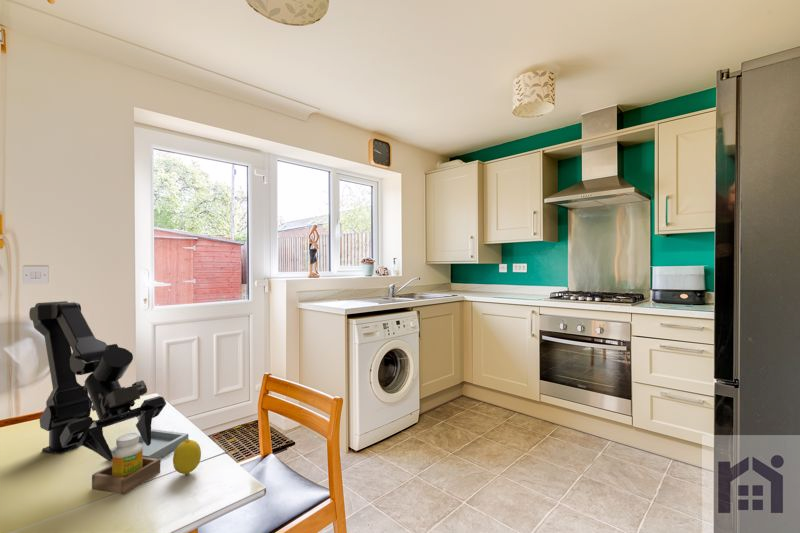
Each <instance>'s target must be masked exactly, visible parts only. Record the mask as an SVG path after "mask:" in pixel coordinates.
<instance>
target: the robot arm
mask: <svg viewBox="0 0 800 533" xmlns="http://www.w3.org/2000/svg"><path fill="white" fill-rule="evenodd" d="M28 314H29V316H28V317H29V319H30V321H32V323H33V327H34V329H35V330H36V331H37V332H38V333H40V334H41V335H42V336H44V342H45V346H46V347H45V348H46V354H47V361H48V367H49V372H50V373H49V374H50V380H51V383H52V384H51V385H52V390H51V393H50V394H49V396H48V397H47V399H46V402H45V403H46V404H45V405H46V407H45V408H44V410H43V412H42V414H41V416H40V418H39V425H40V429H42V430H44V431H45V432H46V431H47V432H48V434H49V435H48V438H49V439H48V446H45V447H44V448H42V449H41V452H46V453H53V454H58V455H61V454H64V453H66V452H68V451H70V450H73V449H75V448H78V447H84V448H87V449H89V450H91V451H92V452H95V453H96V454H97V455H99V456H101V457H102V458H103V459H105V460H107V461H108V462H112V459H113V456H112V453H111V450H110V449H111V448H110V446H109V444H108V443H107V439H106V438H105V436H104V431H103V428H106V427H110V426H113V425H115V424H116V425H117V424H119V423H122V422H125V421H128V420H131V419H135V418H136V419H137V422H136V424H135V427H136V428H137V430H138V432H139V433H138V434H139V435H141V437H142V439H143V441H144V442H145V444H146V445H147V446H149V445H150V444H151V429H152V423H153V422H152V421H153V419H154V418H156V417H158V416H159V415H160V414H161V412H162V411H163V409H164V408H165V407H166V405H167V402H166V400H165V398H164V397H163V396H161V395H157V396H154V397H152V398H148V399H145V400H144V401H143V402H142V403H141V405H140V407H139V406H138V407H136V408H132V407H134V406H135V405H136V402H135V401H137V400H141V397H142V396H144V395H146V394H147V393H148V388H147V384H146V383H145V381H144V380H138V381H135V382H134V383H132V384H131V385H130V386H127V387H125V386H123V387H122V386H121V384H120V382H119V380H120V379H122V378H123V376H124V374H125V373H126V371H127V370H128V368H129V366H130V365H131V363H132V361H133V359H134V355H133V352H131V351H130V350H129V349H127V348H123V347H121V346H119V345H118V344H117V343H112V344H107V343H106V342H105V341H103V340H101V339H98V338H97V337H95V335H94V332H93V330H92V329H91V327H90V326H89V324H88V322H87V319H86V318H85V316H84V314H83V313H82V306H81V304H80V303H78V302H74V301H73V302H68V301H67V300H64V301H48V302H37V303H35V305H34V306H33V307H30V308H29V312H28ZM88 374H89V375H88ZM83 375H88V376H87V377H86V379H85V380H84V385H81V384H80V383H79V382H78V380H77V376H83ZM91 412H95V413H96V415H97V418H98V419H97V420H95V419H93V417H91V416H90V415H91Z"/></svg>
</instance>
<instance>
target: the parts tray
mask: <svg viewBox="0 0 800 533" xmlns="http://www.w3.org/2000/svg"><path fill="white" fill-rule="evenodd" d="M187 439H189V433H187V432H186V433H185V432H178V431H170V430H164V429H163V430H161V429H155V428H154V429H153V428H151V444H150V445H149V446H147V445H146V444H145V442H144V441H143V439H142V437H141V435H140V434H139V441H138V442H140V443H141V444H142V446H143V457H149V458H156V459H160V460H161V458H163V457H165V456H167V455H169V454H170V453H172V452H175V450H176V448H177V447H178V445H179V444H181V443H182V442H184V441H185V440H187ZM116 447H117V445H116V446H114V447H113V448H110V450H111V453H113V450H114V449H115V448H116Z"/></svg>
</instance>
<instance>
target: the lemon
mask: <svg viewBox="0 0 800 533" xmlns="http://www.w3.org/2000/svg"><path fill="white" fill-rule="evenodd" d="M201 449H202V448H201V446H200V444H199V443H198V442H197V441H196V440H193V439H189V438H188V439H187V440H185V441H184V442H182V443H181V444H179V445H178V447H177V448H176V449H175V450H174V451H173V456H172V464H173V469H174V470H175V471H176V472H177V473H179V474H181V475H182V474H183V475H185V476H188V475H189V474H190V473H192V472H193V471H194V470H196V468H197V467H198V466H199V464H200V461H201V459H202V458H201V457H202V450H201Z"/></svg>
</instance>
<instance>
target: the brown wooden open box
mask: <svg viewBox="0 0 800 533" xmlns="http://www.w3.org/2000/svg"><path fill="white" fill-rule="evenodd" d="M160 473H161V458H160V459H156V458H149V457H143V456H142V468H141V469H139V470H137V471H136V472H134V473H132V474H131V475H129V476H127V477H125V478H123V477H117V476H112V464H110V465H108V466H106V467H104V468H103V469H100V470H99V471H97V472H95V473H93V474H92V475H91V490H94V491H101V492H106V493H111V494H116V495H122V496H125V495H126V494H128V493H131V491H133V490H134V489H136V488H138V487H139V486H141V485H142V484H145V483H146V482H147V481H149V480H150V479H152V478H153V477H155V476H157V475H158V474H160Z"/></svg>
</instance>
